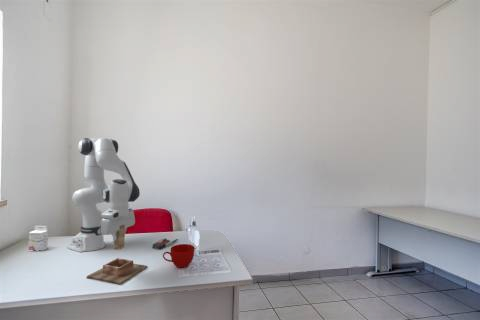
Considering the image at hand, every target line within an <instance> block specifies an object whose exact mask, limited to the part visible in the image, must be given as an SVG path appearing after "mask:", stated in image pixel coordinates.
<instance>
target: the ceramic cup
mask: <svg viewBox="0 0 480 320" xmlns="http://www.w3.org/2000/svg"><path fill="white" fill-rule="evenodd" d="M170 247H171V248H170V251H164V252H163V253H162V258H163V259H164V260H165V262H166V261H167V262H169V263H173V265H174V266H175V267H176V268H177V269H186V268H188V267H189V266H190V265H191V263H193V260H194V256H195V249H196V248H195V246H194V245H192V244H188V243H179V244H176V245H175V244H174V245H172V246H170ZM167 254H168V255H170V259H167V258H166V256H165V255H167Z"/></svg>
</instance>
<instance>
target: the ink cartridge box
mask: <svg viewBox="0 0 480 320" xmlns="http://www.w3.org/2000/svg"><path fill="white" fill-rule="evenodd" d="M48 235H49V230H48V225H34V230H32V231H29V232H28V251H29V250H44V251H45V249H46V250H47V249H48V247H49V246H48V242H49V241H48V239H49V238H48V237H49V236H48Z"/></svg>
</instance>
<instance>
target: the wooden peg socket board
mask: <svg viewBox="0 0 480 320" xmlns="http://www.w3.org/2000/svg"><path fill="white" fill-rule="evenodd" d="M146 269H148V265H146V264H145V265H144V264H138V263H134V260H131V259H127V258H126V259H125V258H119V257H118V258H115V259H113V260H111V261H109V262H107V263H105V264H103V265H102V268H99V269H98V270H96V271H94V272H92V273H90V274H88V275H86V279H89V280H94V281H98V282H99V281H100V282H103V283H108V284H114V285H119V286H120V285H122V284H124V283H125V282H128V281H129V280H131V279H132V278H134V277H135V276H137V275H138V274H140V273H141V272H143V271H145V270H146Z"/></svg>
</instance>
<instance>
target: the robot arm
mask: <svg viewBox="0 0 480 320" xmlns="http://www.w3.org/2000/svg"><path fill="white" fill-rule="evenodd" d="M77 148H78V151H79V153H80V155H84V156H85V159H84V170H83V171H84V173H83V178H84V180H86V181H88V182H89V184H90V187H84V188H80V189H78V190H76V191H74V193H73V194H72V196H71V198H72V199H71V200H72V202H73V204H74V205H75V206H77V207H78V208H79V209H80V211H81V214H82V226H80V227H79V230H80V231H79V232H78V233H77V234H75V236H73V237H72V239H71V244H68V245H67V246H66V248H67V249H69V250H72V251H75V252H78V253H84V252H91V251H97V250H101V249H103V248H104V247H105V246H106V245H105V244H106V243H105V242H106V241H105V240H104V235H105V236H107V235H111V237H112V240H113V241H114V240H117V239H118V236H116V233H117V231H119V230H120V226H121V225H124V224H125V233H127V229H128V228H130V227H132V226H135V223H136V218H135V213H134V210H133V209H132V208H129V207H130V206H129V205H130V204H129V202H131V203H134V202H135V201H137V199H139V197H140V196H141V195H140V193H141V191H140V188H139V186H138V185H137V183H136V182H135V179H134V178H133V175H132V174H131V172H130V169H129V168H128V165H127V164H126V162H125V161H124V160H122V159H121V158H120V157H119V156H118V152H119V144H118V141H117V140H114V139H111V138H110V139H109V138H107V137H93V138H91V137H90V138H89V137H85V138H81V139H80V140H79V142H78V146H77ZM105 170H106V171H109V172H112V173H113V172H114V173H116V174H119V175H120V176H121V178H122V179H121V178H120V179H117V178H116V179H113V180H111V182H110V184H108V185H107V183H106V182H105V181H106V180H105ZM104 202H105V203H106V204H107V203H109V208H108V209H107V210H105V211H104V212H102V211H101V210H99V209H98V207H97V204H102V203H104ZM125 237H126V235H125V236H124V238H125Z"/></svg>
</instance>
